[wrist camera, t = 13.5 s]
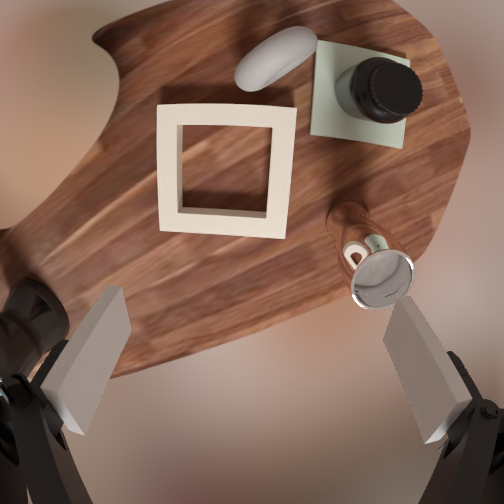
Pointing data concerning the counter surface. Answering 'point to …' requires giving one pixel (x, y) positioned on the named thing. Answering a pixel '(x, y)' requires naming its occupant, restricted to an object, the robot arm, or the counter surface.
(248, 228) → the holder
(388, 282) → the beer glass
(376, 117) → the supplement bottle
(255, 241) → the counter surface
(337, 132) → the mat
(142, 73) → the counter surface
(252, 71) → the donut
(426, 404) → the robot arm
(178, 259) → the counter surface
